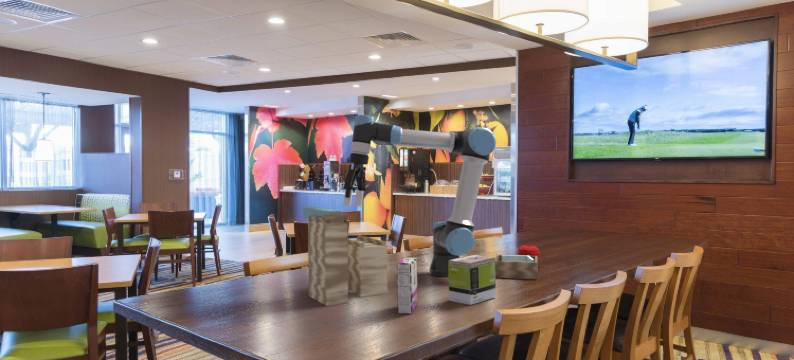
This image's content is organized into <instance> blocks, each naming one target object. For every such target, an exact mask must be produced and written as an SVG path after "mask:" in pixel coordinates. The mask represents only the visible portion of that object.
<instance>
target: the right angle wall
mask: <svg viewBox="0 0 794 360" xmlns="http://www.w3.org/2000/svg"><path fill="white" fill-rule="evenodd" d="M501 255H502V261H516V262H534V259H532V258H531V257H530V256H529V255H519V254H513V255H512V254H501Z"/></svg>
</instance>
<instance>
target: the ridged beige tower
mask: <svg viewBox="0 0 794 360" xmlns="http://www.w3.org/2000/svg"><path fill="white" fill-rule="evenodd" d="M348 293H351V294H353V295H355V296H356V297H359V298H364V297H372V296H379V295H386V294H388V245H387V242H386V240H381V239H377V238H372V237H368V236H364V235H361V234H360V235H357V238H356V239H349V238H348Z"/></svg>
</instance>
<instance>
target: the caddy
mask: <svg viewBox="0 0 794 360" xmlns="http://www.w3.org/2000/svg"><path fill="white" fill-rule="evenodd" d="M502 255H503V254H496V256H495V277H496V279H497V278H498V279H521V280H523V279H524V280H525V279H526V280H538V271H539V270H538V265H539V264H538V262H539V259H537V256H530V257H531V258H532V259H534V262H516V261H502Z"/></svg>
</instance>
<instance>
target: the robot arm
mask: <svg viewBox="0 0 794 360" xmlns="http://www.w3.org/2000/svg"><path fill="white" fill-rule="evenodd" d="M371 143H374V144H375V145H377V146H394V147H404V148H405V147H406V148H418V149H419V148H420V149H429V150H443V151H447V152H448V153H453V154H457V155H460V158H461V159H462V161H463V163H462V166H461V172H460V175H459V179H458V180H459V181H458V185H457V189H456V194H455V200H454V203H453V209H452V213H451V216H450V217H449V218H447V219H446V221H437V222H434V223H433V226H432V227H433V228H432V234H433V235H432V245H433V247H432V249H433V250H432V253H433V255H432V256H433V257H432V260H431V262H430V266H429V275H431V276H436V277H449V270H448V260H452V259H457V258H461V256H462V257H463V256H465V255H467V254H469V253H470V252H471V251H472V250H473V249H474V247H475V243H476V241H475V235H474V231H475V229H474V228H475V225H474V222H473V221H472V220H473V216H474V211H475V207H476V203H477V198H478V193H479V189H480V184H481V179H482V174H483V170H484V166H485V165H486V164H488V163H489V160H490V156H491V154H492V153H493V151H495V148H496V146H497V139H496V136H495V134H494V132H493V131H492V130H491V129H489V128H487V127H480V126H478V127H475V128H471V129H470V128H469V129H466V130H460V131H459V130H458V131H455V130H450V131H449V132H440V131H430V130H420V129H419V130H418V129H407V128H402V127H401V126H398V125H395V124H388V123H387V124H386V123H381V122H376V121H375V118H374V116H371V115H367V114H358V115H356V117H355V121H354V125H353V133H352V141H351V144H350V155H349V163H350V164H349V167H348V171H347V175H346V177H345V181H344V183H343V184H344V185H343V187H342V188H343V189H344V190H345V191H344V192H345V193H344V198H343V204H342V205H343V206H344V207H351V205H352V199H353V198H352V197H353V193H354V192H353V187H354V185H355V183H356V187H357V190H356V191H355V199H354V205H353V206H354V207H359V208H361V207H362V202H363V195H364V192H366V169H367V168H366V166H367V165H368V164H369V158H370V156H369V155H370V152H371V147H372V145H371ZM364 165H366V166H364Z"/></svg>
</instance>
